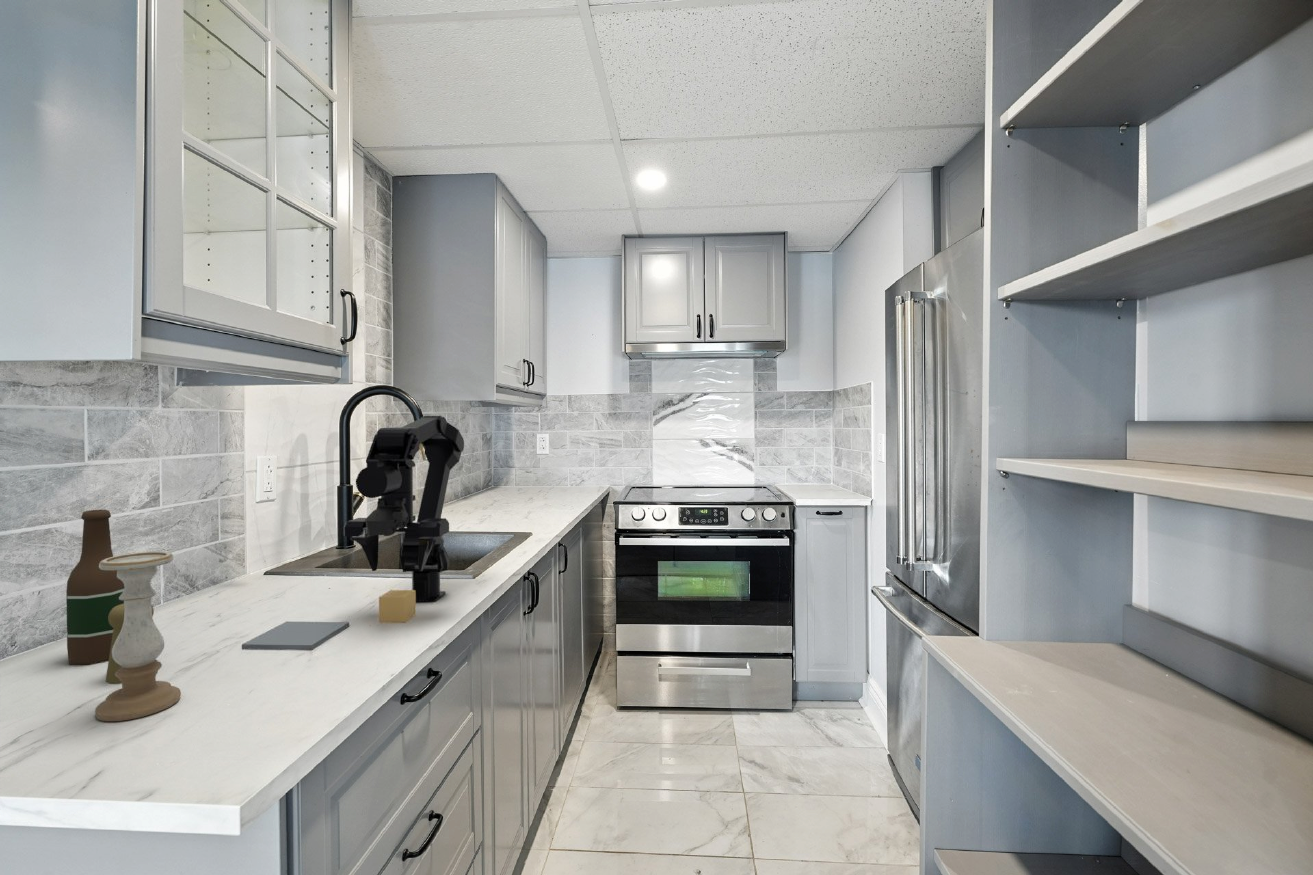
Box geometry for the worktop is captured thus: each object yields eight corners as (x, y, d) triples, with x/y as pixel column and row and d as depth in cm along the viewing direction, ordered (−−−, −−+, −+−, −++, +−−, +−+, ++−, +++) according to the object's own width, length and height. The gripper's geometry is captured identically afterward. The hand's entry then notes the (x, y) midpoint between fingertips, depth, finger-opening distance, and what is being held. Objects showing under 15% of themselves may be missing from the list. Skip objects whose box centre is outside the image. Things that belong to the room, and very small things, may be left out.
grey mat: (286, 625, 115) (286, 621, 115) (349, 626, 115) (349, 621, 115) (241, 648, 103) (241, 644, 103) (311, 649, 103) (311, 645, 103)
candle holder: (196, 697, 84) (194, 552, 84) (123, 727, 76) (120, 566, 76) (153, 688, 87) (151, 548, 87) (78, 716, 79) (76, 561, 79)
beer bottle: (78, 651, 101) (76, 508, 101) (137, 645, 104) (135, 506, 104) (54, 669, 94) (52, 515, 94) (118, 661, 97) (116, 512, 97)
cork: (97, 678, 91) (96, 605, 90) (146, 664, 96) (145, 595, 96) (116, 686, 88) (115, 611, 88) (166, 671, 93) (165, 600, 93)
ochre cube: (391, 614, 122) (390, 590, 122) (415, 614, 122) (415, 590, 122) (379, 622, 117) (378, 597, 117) (404, 623, 117) (404, 597, 117)
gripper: (326, 496, 111) (327, 581, 111) (427, 497, 111) (428, 582, 111) (358, 489, 122) (358, 566, 123) (449, 490, 122) (450, 567, 122)
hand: (397, 570), depth 119 cm, fingers open, 9 cm apart
